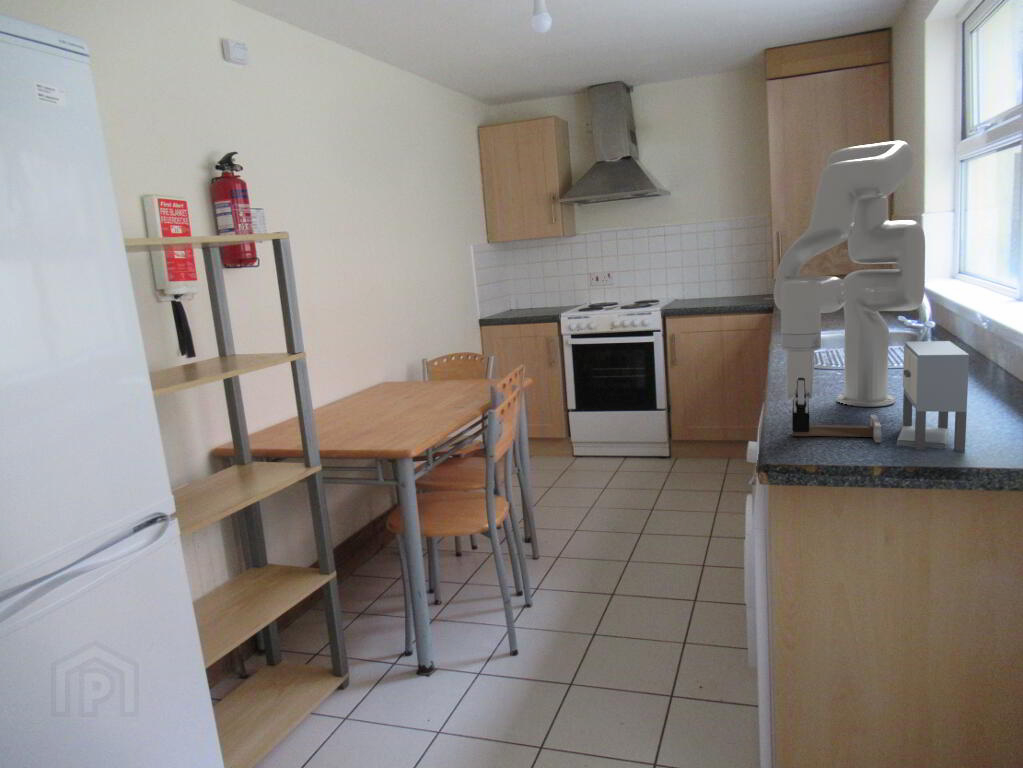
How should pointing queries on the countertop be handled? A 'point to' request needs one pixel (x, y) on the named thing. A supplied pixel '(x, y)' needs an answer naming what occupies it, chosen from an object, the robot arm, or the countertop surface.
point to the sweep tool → (844, 429)
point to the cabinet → (935, 387)
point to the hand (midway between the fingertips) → (800, 428)
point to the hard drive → (932, 437)
